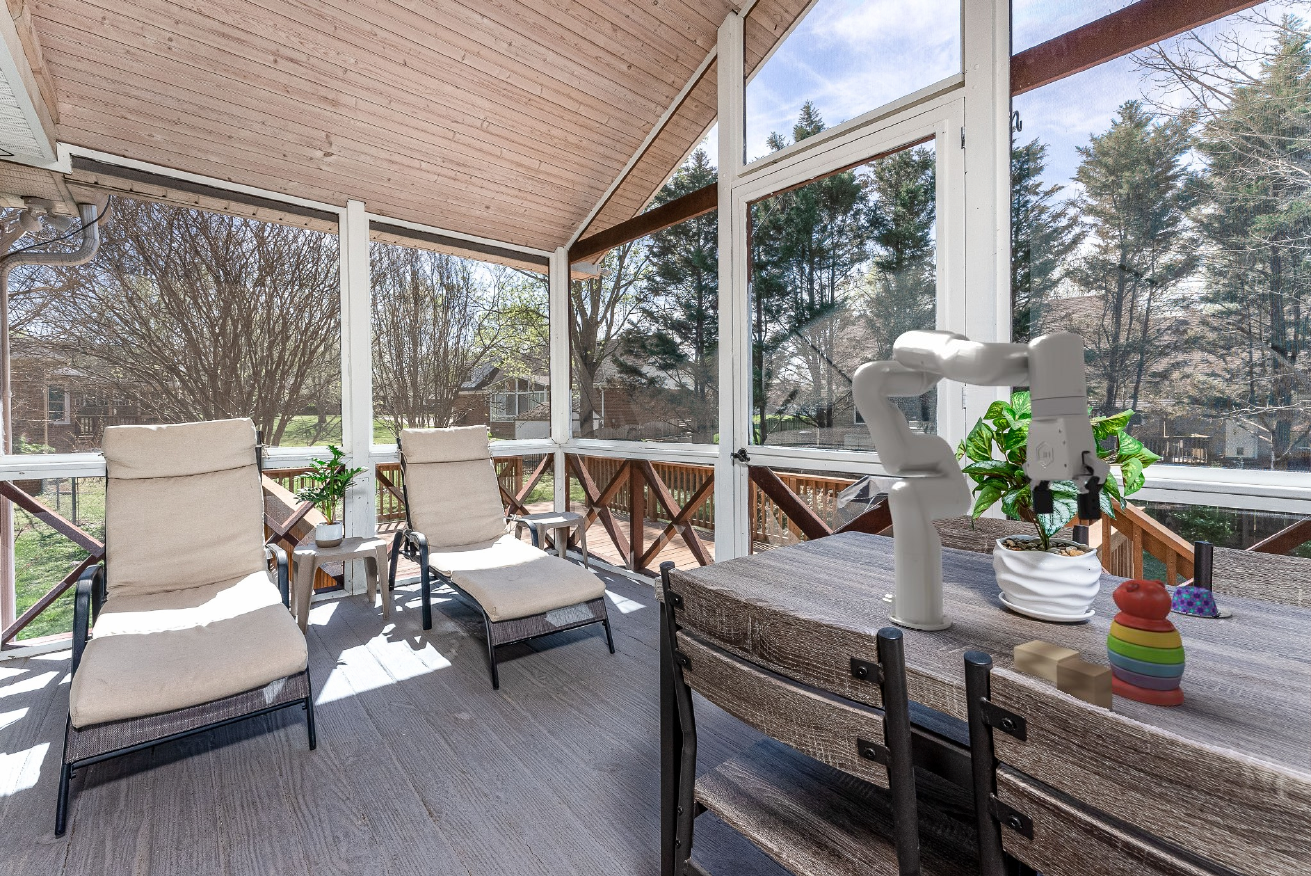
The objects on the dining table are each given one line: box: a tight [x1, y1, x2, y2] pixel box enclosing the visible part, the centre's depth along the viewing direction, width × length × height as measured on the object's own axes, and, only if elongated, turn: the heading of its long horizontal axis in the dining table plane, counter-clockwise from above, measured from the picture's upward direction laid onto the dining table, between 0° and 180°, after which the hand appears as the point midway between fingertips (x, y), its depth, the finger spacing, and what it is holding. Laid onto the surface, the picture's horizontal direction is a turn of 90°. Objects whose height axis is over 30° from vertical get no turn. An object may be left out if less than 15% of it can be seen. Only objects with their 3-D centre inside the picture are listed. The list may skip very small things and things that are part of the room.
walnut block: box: [1056, 658, 1113, 711], centre depth 86 cm, size 5×5×6 cm
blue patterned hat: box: [1170, 585, 1232, 618], centre depth 130 cm, size 12×12×5 cm
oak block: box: [1013, 639, 1081, 684], centre depth 99 cm, size 7×7×4 cm
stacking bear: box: [1106, 578, 1186, 707], centre depth 90 cm, size 11×10×18 cm
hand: (1065, 516), depth 93 cm, fingers open, 9 cm apart
